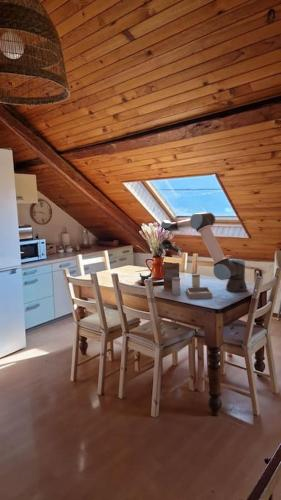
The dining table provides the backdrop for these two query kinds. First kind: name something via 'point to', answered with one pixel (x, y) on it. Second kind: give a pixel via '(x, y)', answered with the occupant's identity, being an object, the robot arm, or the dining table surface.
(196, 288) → the tray
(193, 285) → the sage canister
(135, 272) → the dining table surface
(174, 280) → the gray canister
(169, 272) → the panel
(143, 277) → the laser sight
